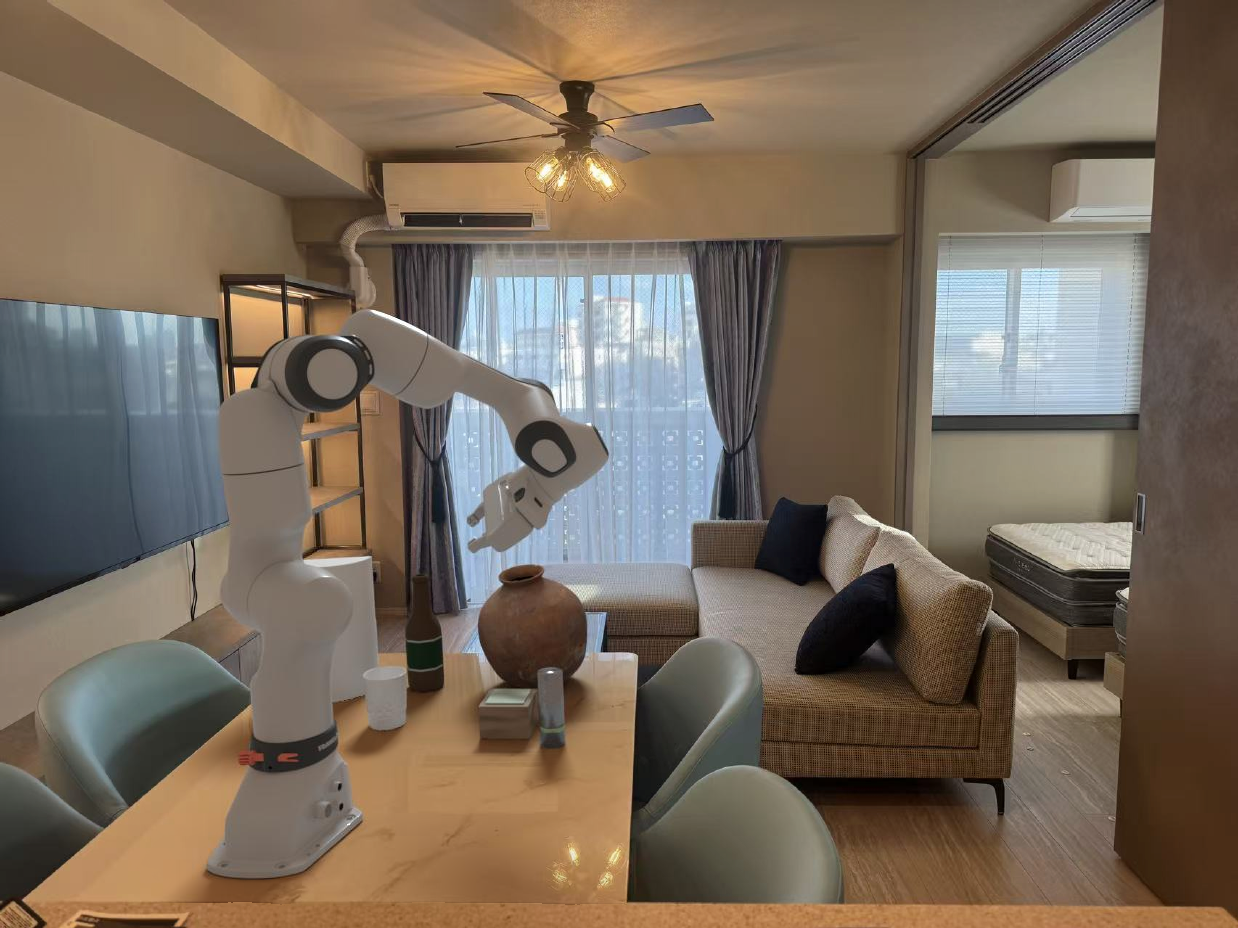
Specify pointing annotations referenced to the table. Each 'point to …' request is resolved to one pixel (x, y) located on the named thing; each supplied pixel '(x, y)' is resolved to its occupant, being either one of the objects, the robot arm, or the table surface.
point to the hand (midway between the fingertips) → (469, 535)
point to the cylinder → (353, 627)
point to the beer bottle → (423, 641)
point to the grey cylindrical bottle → (551, 707)
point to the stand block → (508, 714)
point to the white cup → (386, 697)
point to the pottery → (532, 627)
